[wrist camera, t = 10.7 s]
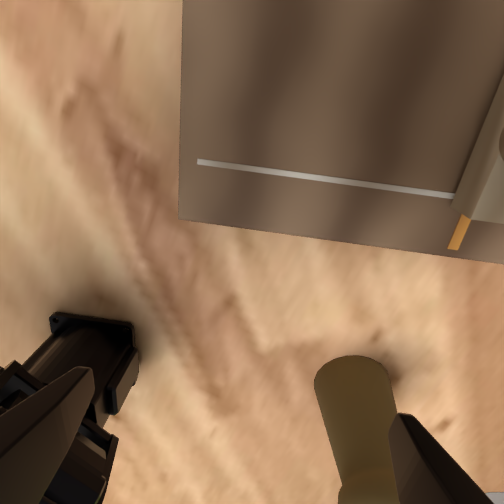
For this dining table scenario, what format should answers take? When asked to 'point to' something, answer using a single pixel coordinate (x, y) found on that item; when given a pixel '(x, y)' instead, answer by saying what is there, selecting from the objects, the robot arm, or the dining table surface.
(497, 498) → the french press
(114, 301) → the dining table surface
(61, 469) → the robot arm
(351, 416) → the cork
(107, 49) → the dining table surface
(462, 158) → the board
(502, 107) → the lever handle
